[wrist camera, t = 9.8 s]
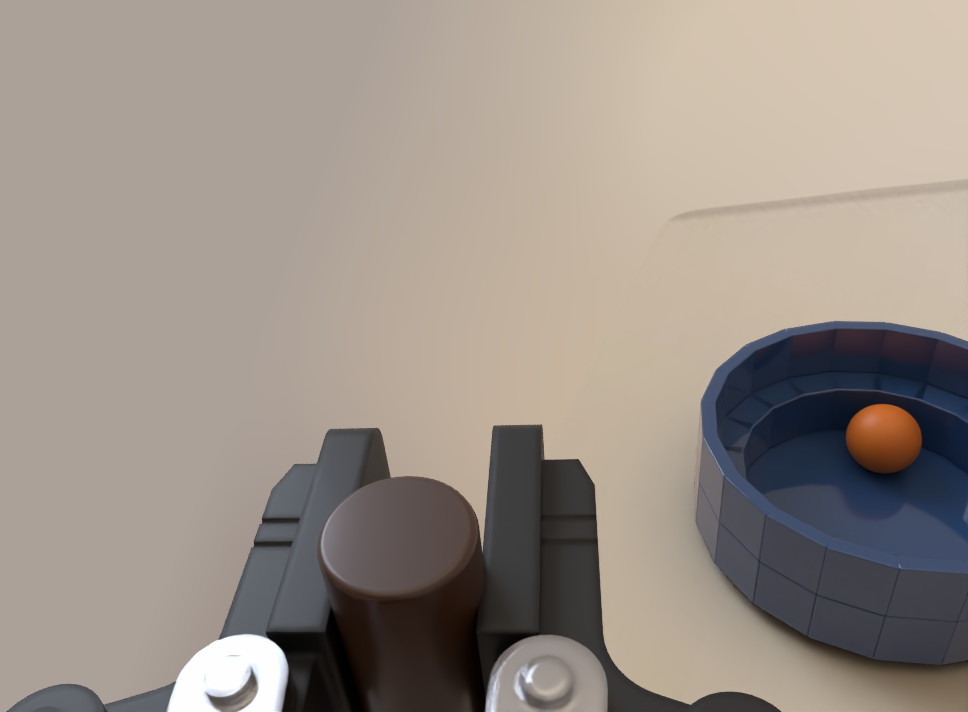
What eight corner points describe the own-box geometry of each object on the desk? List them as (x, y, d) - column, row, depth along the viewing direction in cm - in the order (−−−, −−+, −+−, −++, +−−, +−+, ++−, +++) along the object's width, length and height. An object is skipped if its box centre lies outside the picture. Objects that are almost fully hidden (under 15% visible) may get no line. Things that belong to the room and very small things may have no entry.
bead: (878, 497, 37) (891, 445, 35) (826, 456, 39) (836, 405, 37) (929, 471, 38) (945, 419, 36) (876, 432, 40) (888, 381, 38)
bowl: (871, 742, 29) (903, 642, 26) (629, 484, 40) (631, 390, 36) (1147, 570, 33) (1205, 467, 30) (864, 380, 44) (884, 287, 41)
